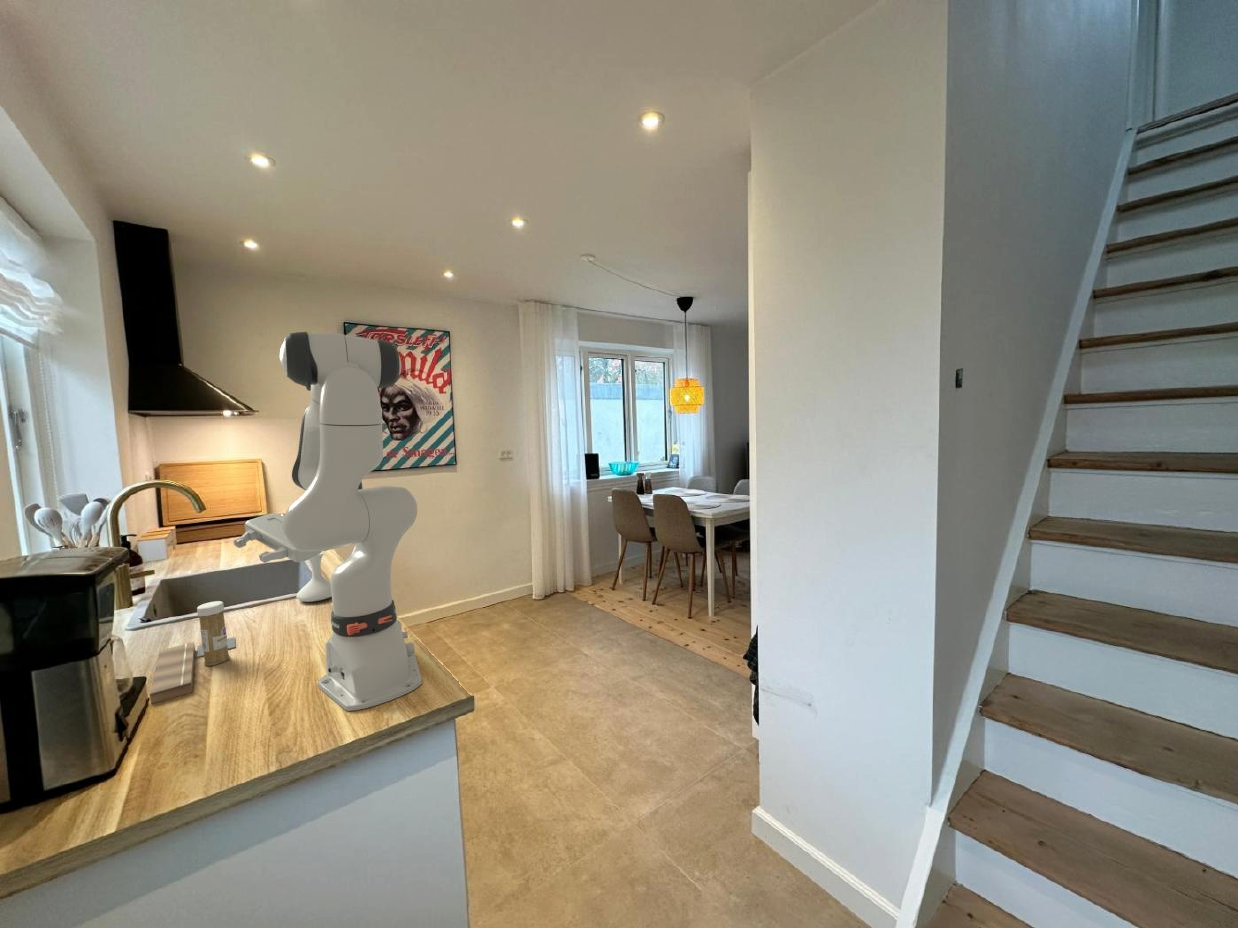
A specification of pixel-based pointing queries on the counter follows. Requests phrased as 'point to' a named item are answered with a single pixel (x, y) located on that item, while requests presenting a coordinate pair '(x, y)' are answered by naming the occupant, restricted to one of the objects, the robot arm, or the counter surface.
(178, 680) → the board
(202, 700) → the counter surface
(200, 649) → the end pad
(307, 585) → the flower in vase
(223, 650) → the sprinkles bottle
